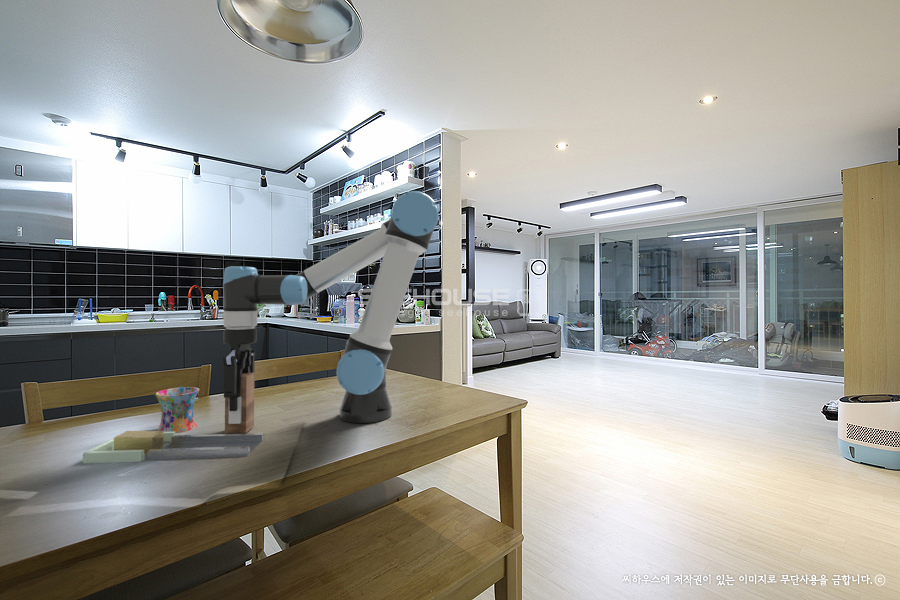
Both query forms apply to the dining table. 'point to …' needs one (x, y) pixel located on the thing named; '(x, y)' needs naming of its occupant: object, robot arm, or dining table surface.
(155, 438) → the tan boxy piece
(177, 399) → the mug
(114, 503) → the dining table surface
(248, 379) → the block
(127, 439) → the chip
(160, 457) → the slot rail
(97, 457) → the tray
